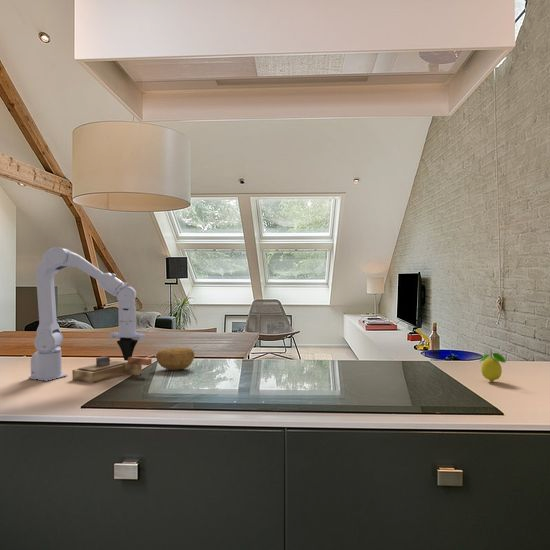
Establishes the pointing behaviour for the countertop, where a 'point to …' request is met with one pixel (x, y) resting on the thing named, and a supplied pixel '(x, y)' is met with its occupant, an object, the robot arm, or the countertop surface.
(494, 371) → the lemon
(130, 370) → the toolbox
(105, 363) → the lid
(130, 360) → the wooden bar
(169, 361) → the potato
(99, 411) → the countertop surface
